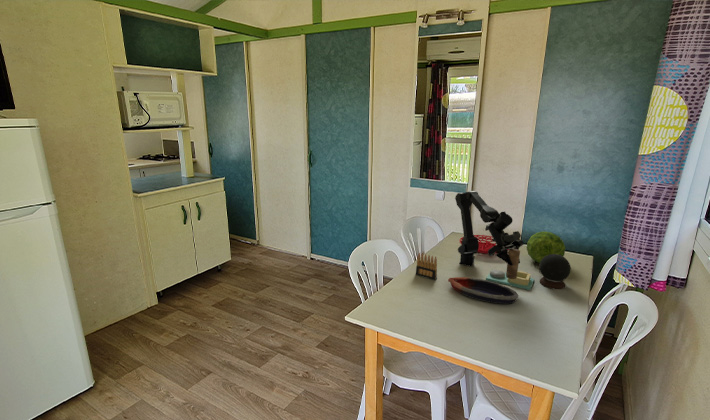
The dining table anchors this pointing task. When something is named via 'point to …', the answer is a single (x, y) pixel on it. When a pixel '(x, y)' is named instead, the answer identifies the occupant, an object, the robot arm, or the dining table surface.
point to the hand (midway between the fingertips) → (515, 264)
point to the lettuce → (544, 245)
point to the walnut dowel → (513, 269)
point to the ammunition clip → (426, 267)
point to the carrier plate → (521, 280)
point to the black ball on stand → (554, 271)
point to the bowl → (483, 243)
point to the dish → (483, 290)
